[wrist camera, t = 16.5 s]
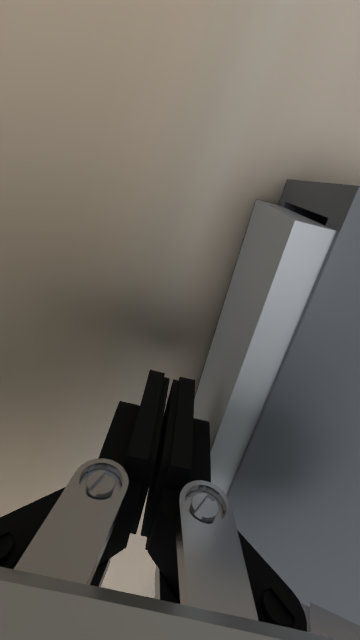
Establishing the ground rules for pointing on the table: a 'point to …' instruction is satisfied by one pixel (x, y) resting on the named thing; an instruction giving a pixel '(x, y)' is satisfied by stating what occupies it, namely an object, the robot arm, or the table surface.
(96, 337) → the table surface
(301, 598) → the housing
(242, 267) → the grey drawer
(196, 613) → the robot arm
